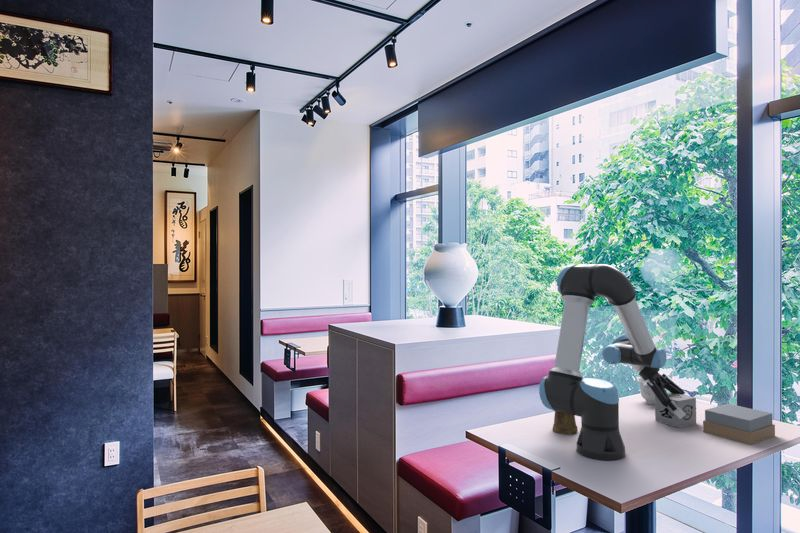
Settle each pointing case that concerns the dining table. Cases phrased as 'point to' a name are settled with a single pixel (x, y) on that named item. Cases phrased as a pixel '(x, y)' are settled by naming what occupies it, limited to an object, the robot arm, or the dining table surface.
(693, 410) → the icon cube
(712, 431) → the tower base
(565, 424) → the wooden mug
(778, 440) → the dining table surface
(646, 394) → the teacup
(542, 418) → the dining table surface
